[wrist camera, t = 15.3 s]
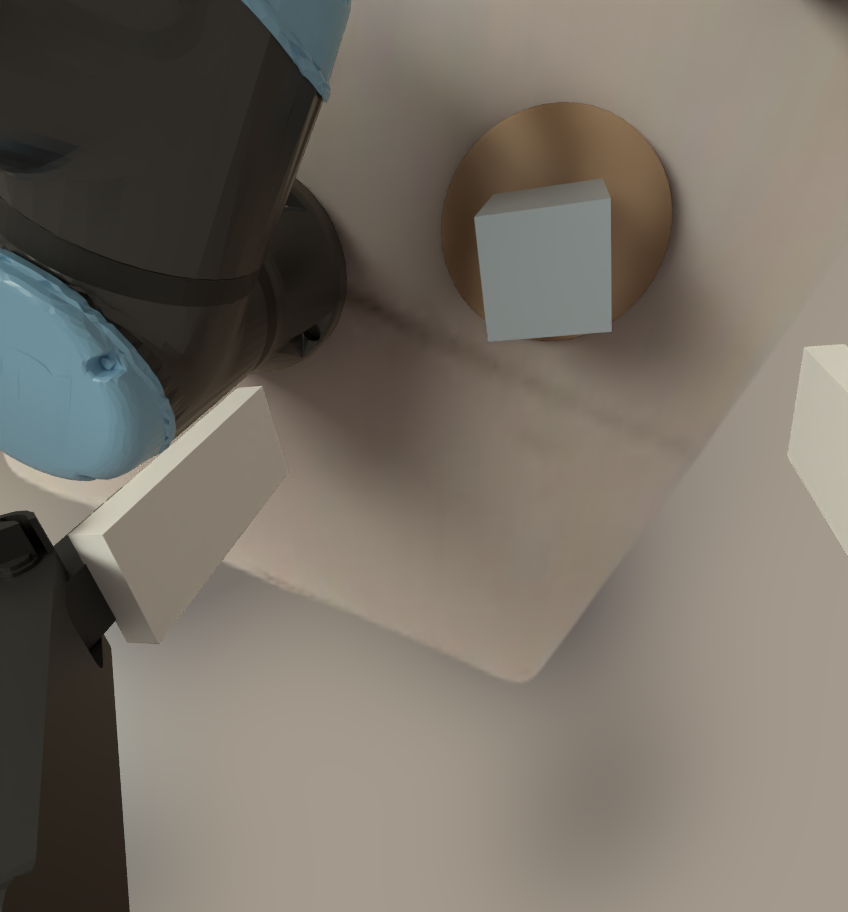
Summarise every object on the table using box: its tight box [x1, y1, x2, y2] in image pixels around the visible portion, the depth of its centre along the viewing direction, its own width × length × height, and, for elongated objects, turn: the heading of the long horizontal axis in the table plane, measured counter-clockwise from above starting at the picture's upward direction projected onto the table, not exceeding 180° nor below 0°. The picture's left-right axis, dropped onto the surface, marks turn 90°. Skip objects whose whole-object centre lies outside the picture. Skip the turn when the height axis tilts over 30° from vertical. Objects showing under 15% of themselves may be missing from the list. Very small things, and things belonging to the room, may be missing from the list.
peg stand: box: [441, 102, 672, 341], centre depth 34 cm, size 14×14×12 cm
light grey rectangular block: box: [474, 178, 612, 342], centre depth 31 cm, size 6×6×8 cm
